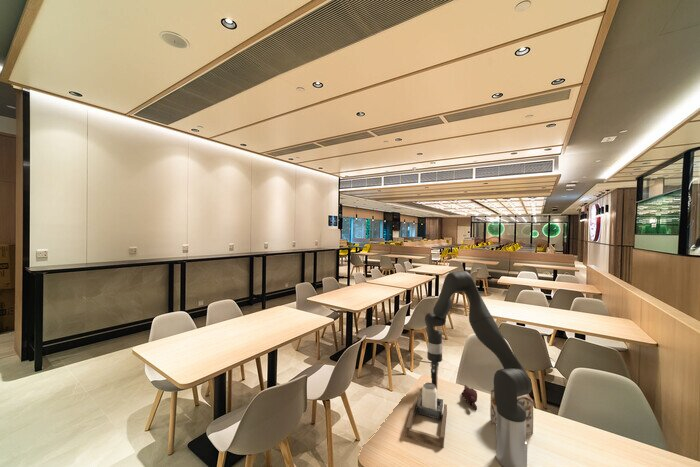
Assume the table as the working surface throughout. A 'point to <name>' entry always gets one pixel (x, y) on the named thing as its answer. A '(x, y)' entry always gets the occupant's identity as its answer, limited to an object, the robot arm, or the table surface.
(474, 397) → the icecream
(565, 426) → the table surface
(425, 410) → the pull frame
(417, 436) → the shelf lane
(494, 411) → the decorative jar
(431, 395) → the can
